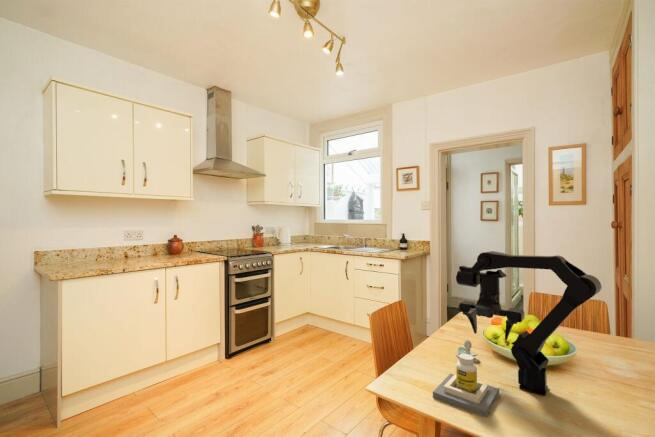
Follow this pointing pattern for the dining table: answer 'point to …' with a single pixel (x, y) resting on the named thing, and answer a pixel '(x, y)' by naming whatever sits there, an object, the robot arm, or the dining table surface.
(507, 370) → the dining table surface
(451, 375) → the plate
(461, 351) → the pacifier
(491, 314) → the robot arm
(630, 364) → the dining table surface
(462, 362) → the supplement bottle
